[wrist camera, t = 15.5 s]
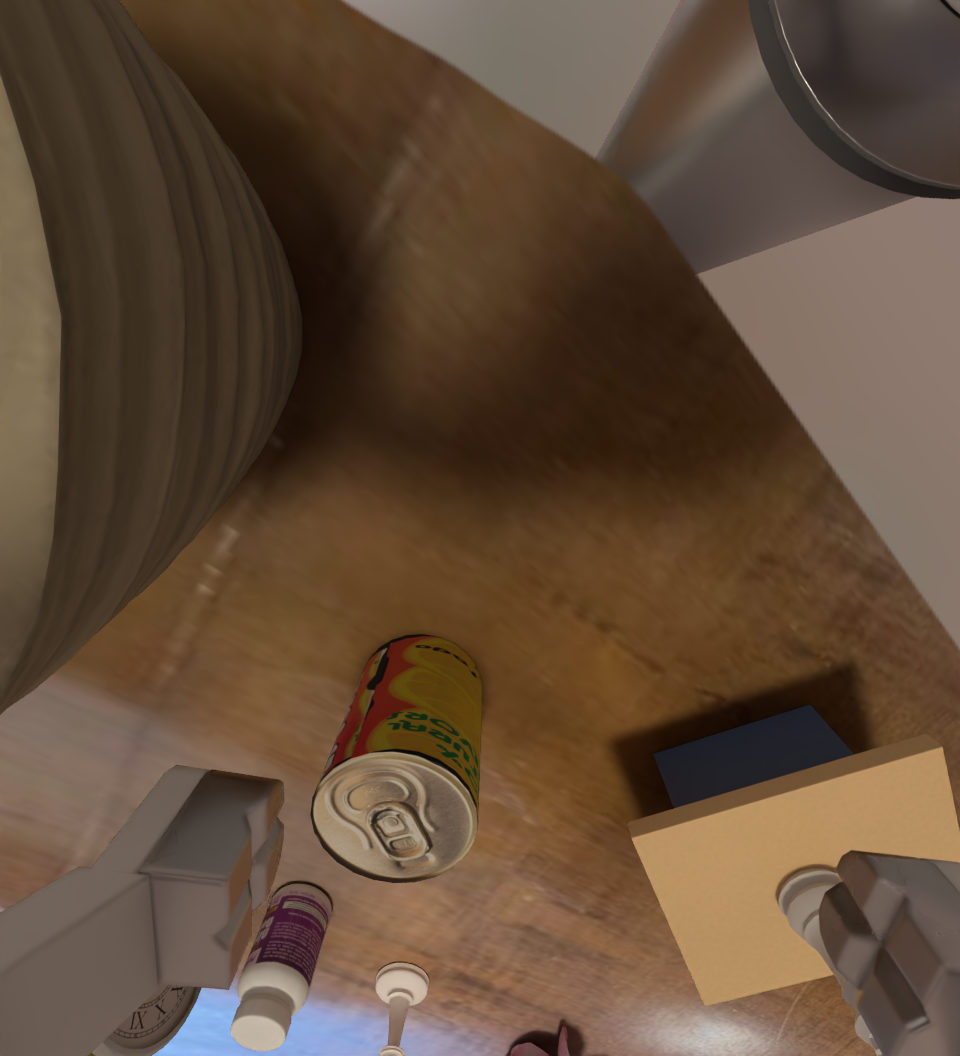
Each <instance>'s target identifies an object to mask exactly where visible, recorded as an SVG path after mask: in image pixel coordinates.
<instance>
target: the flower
mask: <svg viewBox="0 0 960 1056" xmlns="http://www.w3.org/2000/svg"><path fill="white" fill-rule="evenodd" d="M509 1056H550V1055H548V1054H547V1053H546V1052H544V1051H543V1050H542V1049H540V1048H539V1047H537V1046H535V1045H534V1044H532V1043H524V1044H519V1045H517V1046H515V1047H514V1048H513V1049H512V1051H511V1055H509ZM558 1056H570V1055H569V1052H568V1048H567V1029H566V1027H565V1026H562V1031H561V1034H560V1037H559V1046H558Z"/></svg>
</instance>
